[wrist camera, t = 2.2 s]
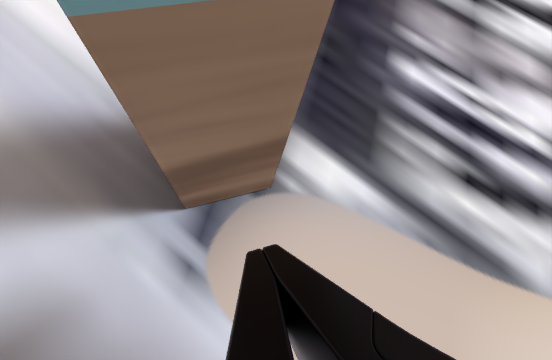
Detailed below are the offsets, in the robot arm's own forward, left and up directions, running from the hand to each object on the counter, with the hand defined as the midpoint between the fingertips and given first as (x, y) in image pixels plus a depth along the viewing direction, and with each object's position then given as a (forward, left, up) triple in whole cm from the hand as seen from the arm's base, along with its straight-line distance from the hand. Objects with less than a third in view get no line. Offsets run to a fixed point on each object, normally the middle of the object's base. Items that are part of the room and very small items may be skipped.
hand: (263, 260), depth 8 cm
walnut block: (+6, -4, -9) cm, 11 cm away
